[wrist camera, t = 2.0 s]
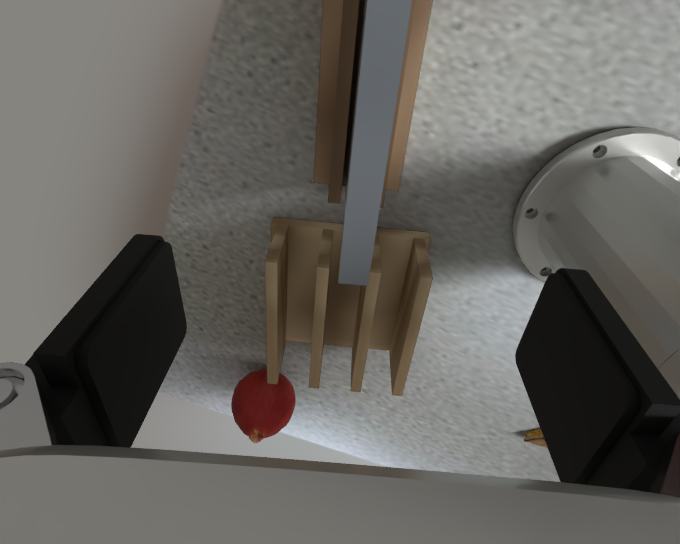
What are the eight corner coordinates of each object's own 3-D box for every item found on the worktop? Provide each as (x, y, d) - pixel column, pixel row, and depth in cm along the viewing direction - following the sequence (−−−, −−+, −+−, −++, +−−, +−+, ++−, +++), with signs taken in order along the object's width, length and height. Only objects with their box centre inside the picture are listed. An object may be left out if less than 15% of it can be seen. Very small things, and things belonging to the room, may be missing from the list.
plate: (394, -28, 23) (415, -22, 13) (366, 181, 30) (367, 286, 20) (368, -31, 23) (370, -27, 13) (346, 179, 30) (338, 283, 20)
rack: (429, 232, 33) (440, 279, 28) (402, 343, 40) (407, 396, 35) (273, 217, 33) (257, 261, 28) (273, 331, 40) (261, 382, 35)
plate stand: (436, -35, 23) (447, -35, 20) (397, 186, 31) (401, 209, 28) (327, -47, 23) (321, -48, 20) (314, 178, 31) (309, 200, 28)
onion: (291, 395, 45) (279, 468, 39) (237, 382, 44) (215, 454, 38) (306, 359, 42) (295, 431, 35) (247, 344, 41) (225, 416, 35)
